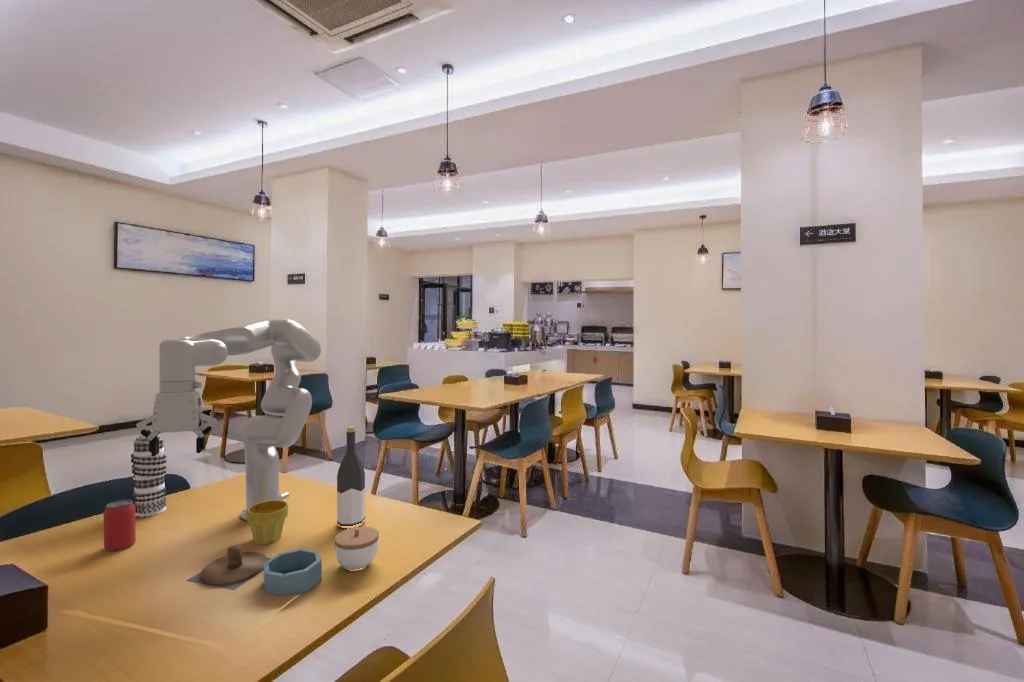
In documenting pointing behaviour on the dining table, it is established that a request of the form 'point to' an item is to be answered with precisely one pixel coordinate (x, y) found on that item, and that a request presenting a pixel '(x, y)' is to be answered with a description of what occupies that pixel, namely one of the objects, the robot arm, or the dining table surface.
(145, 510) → the decorative candle
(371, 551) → the lidded jar
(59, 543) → the dining table surface
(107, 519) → the beer can
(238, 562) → the lid
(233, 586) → the mat
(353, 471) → the wine bottle
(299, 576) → the bowl
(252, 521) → the plant pot
